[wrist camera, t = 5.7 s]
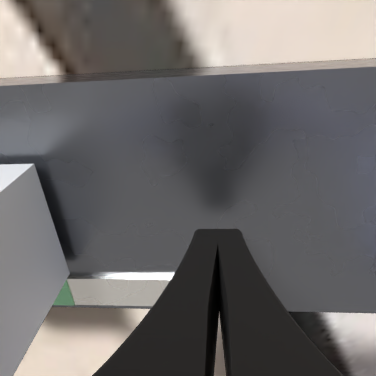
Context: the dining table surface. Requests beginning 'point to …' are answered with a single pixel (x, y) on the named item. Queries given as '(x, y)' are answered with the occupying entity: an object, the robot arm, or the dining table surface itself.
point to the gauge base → (205, 175)
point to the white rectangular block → (25, 262)
